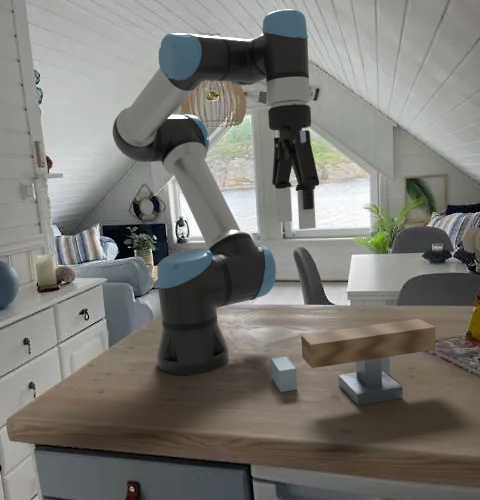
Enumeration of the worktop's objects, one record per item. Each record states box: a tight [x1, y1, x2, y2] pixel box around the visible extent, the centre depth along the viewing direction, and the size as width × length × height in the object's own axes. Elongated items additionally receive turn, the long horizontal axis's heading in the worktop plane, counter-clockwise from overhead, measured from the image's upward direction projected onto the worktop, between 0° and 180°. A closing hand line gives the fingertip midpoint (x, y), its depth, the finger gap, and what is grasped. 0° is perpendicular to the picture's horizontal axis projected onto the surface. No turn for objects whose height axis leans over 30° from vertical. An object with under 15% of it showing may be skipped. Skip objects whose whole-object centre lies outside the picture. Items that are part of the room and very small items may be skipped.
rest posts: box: [270, 356, 391, 393], centre depth 92 cm, size 21×6×4 cm, turn 101°
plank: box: [300, 318, 436, 369], centre depth 83 cm, size 22×5×4 cm, turn 101°
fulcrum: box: [338, 358, 404, 407], centre depth 84 cm, size 8×8×7 cm
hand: (295, 224), depth 90 cm, fingers open, 13 cm apart
